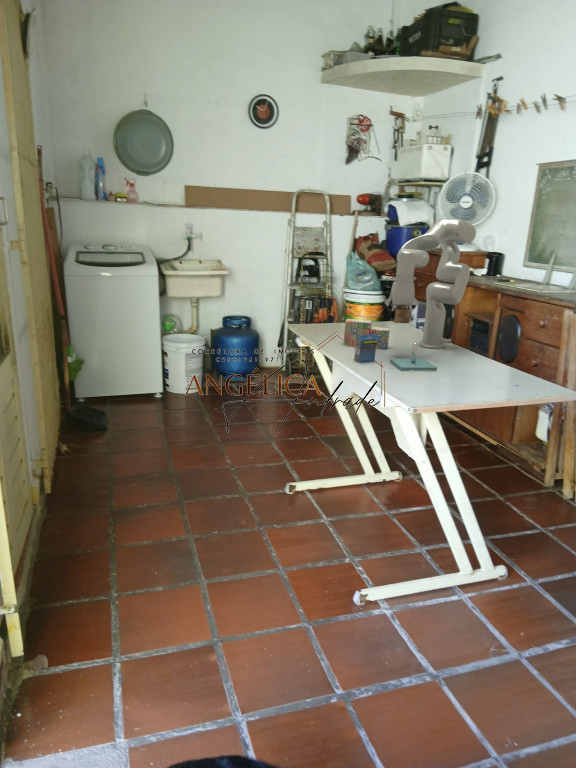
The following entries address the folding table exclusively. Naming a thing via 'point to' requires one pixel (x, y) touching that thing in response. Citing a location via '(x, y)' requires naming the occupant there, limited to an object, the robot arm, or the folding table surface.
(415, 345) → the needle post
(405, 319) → the hollow wooden block
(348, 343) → the stack of blocks
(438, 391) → the folding table surface
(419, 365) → the teal flat board
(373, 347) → the label tape box
